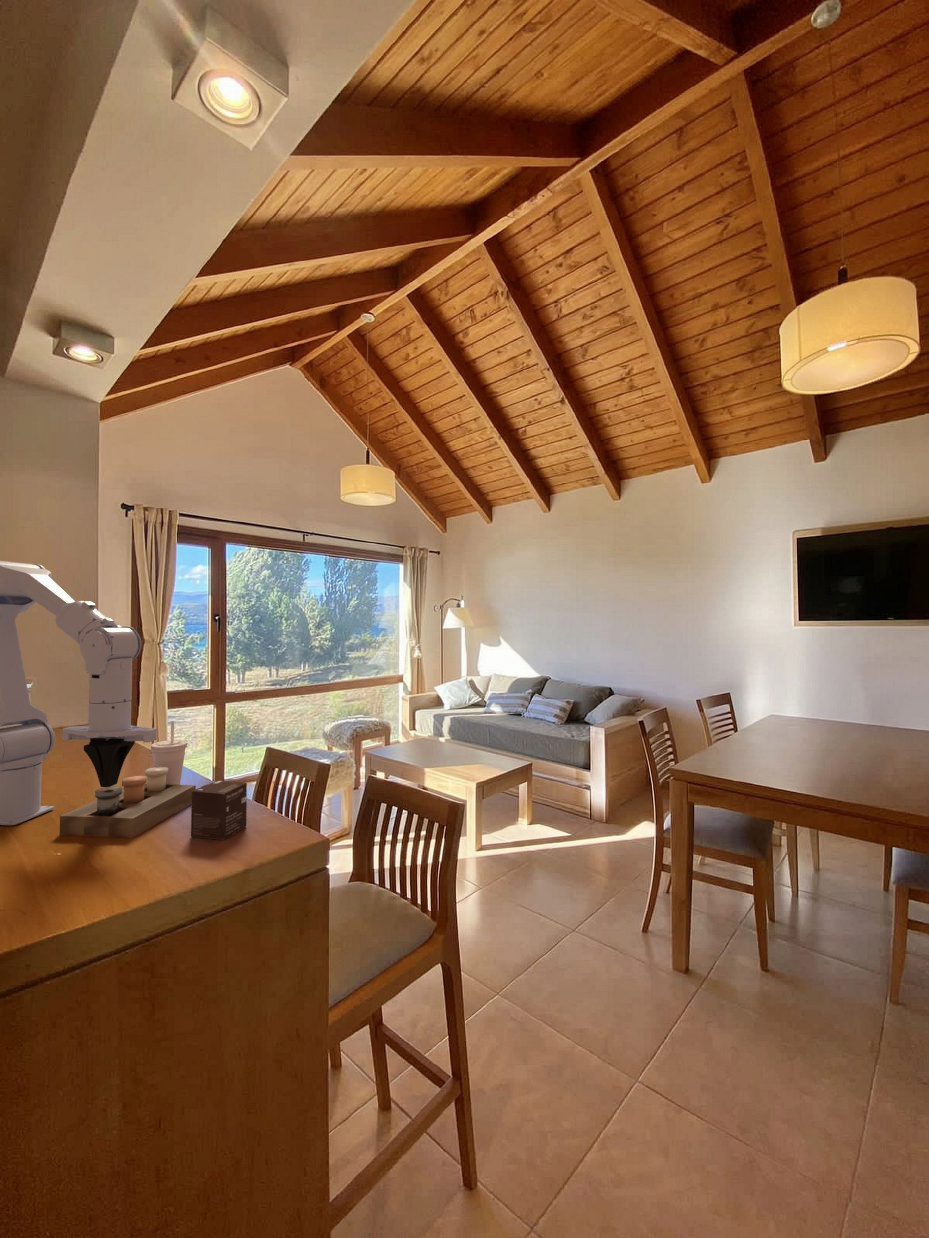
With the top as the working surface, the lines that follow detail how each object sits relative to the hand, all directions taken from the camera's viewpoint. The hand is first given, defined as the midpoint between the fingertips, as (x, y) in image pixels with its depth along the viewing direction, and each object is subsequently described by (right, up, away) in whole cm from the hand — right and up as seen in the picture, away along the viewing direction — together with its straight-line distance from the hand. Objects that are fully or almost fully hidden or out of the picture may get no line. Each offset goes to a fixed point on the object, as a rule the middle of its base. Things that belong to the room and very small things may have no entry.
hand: (108, 785), depth 84 cm
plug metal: (0, -5, 0) cm, 5 cm away
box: (+18, -8, 0) cm, 20 cm away
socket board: (0, -7, +6) cm, 9 cm away
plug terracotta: (0, -5, +6) cm, 8 cm away
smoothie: (-1, -8, +19) cm, 21 cm away
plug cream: (+1, -5, +12) cm, 13 cm away
